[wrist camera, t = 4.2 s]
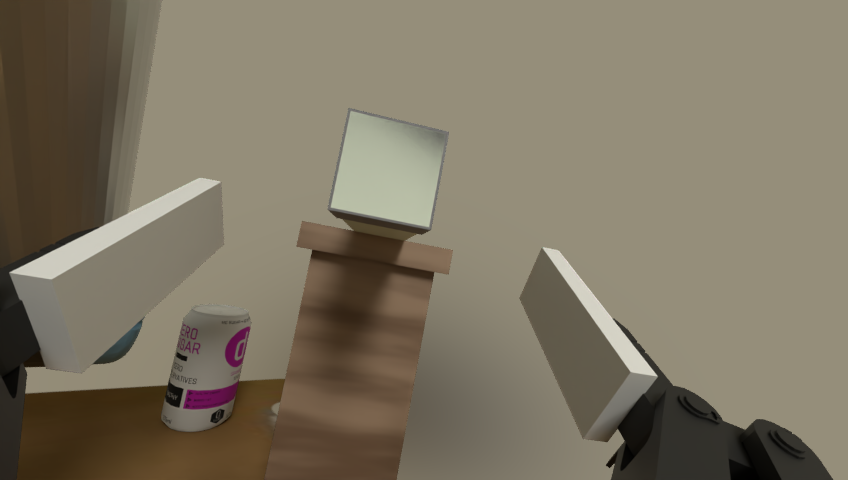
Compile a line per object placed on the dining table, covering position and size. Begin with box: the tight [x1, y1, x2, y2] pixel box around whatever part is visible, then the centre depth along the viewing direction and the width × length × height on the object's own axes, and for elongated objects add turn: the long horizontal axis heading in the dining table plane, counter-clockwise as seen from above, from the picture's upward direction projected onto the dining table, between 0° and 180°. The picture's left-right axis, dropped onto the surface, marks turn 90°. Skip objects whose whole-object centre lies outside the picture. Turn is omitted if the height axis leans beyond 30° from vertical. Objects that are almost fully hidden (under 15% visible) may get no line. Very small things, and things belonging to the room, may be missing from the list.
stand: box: [264, 221, 453, 480], centre depth 35 cm, size 20×12×28 cm, turn 8°
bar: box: [328, 108, 449, 241], centre depth 28 cm, size 30×4×4 cm, turn 8°
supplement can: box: [161, 304, 251, 432], centre depth 46 cm, size 8×8×15 cm
